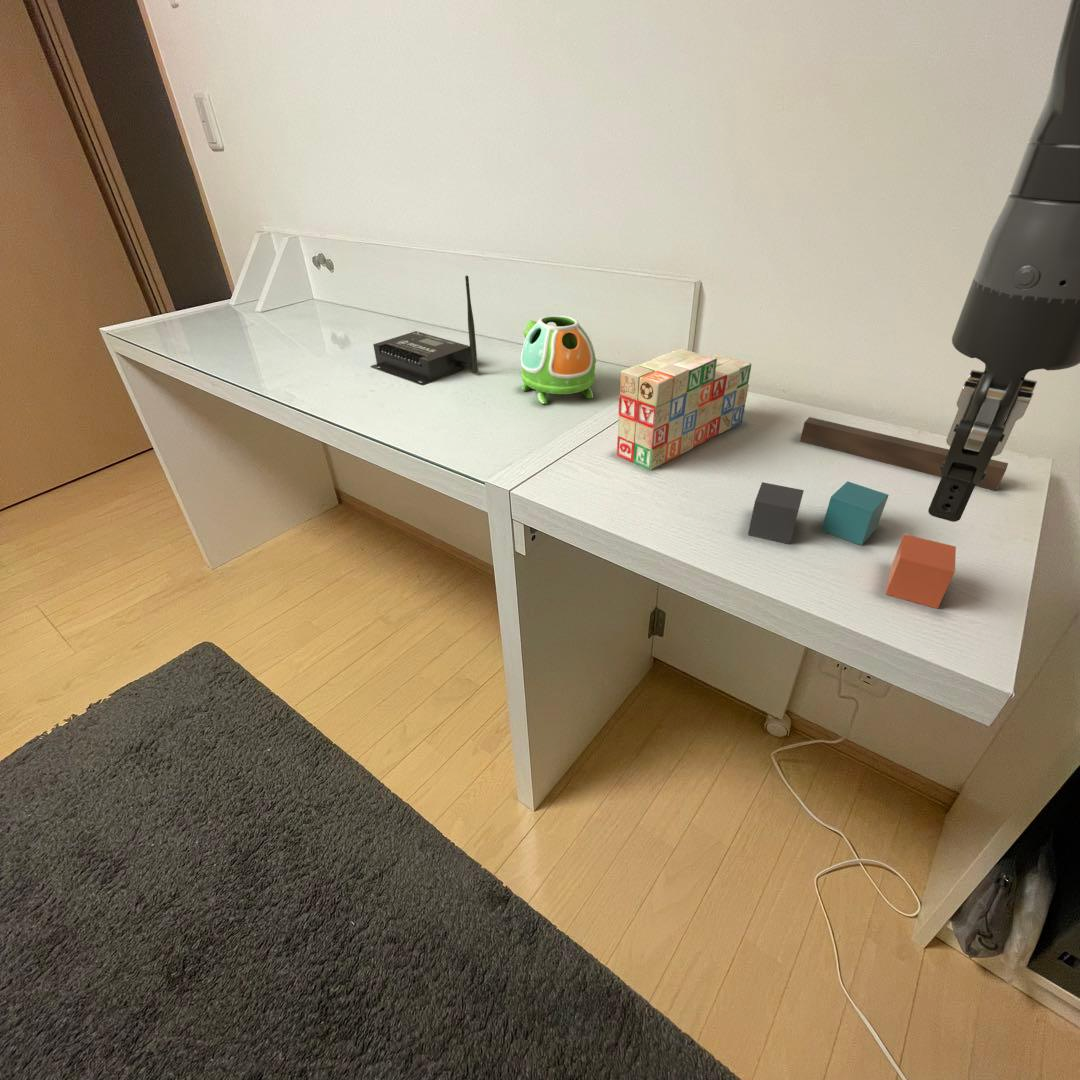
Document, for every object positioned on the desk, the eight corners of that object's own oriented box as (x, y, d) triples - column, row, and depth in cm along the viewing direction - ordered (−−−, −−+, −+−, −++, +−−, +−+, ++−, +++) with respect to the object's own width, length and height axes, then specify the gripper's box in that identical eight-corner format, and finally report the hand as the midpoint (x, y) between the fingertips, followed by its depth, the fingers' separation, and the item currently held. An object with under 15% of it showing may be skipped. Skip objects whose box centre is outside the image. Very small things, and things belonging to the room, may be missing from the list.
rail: (998, 484, 76) (1008, 463, 74) (996, 491, 75) (1006, 469, 73) (804, 436, 88) (809, 416, 87) (799, 441, 87) (804, 421, 85)
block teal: (876, 528, 69) (889, 494, 66) (861, 545, 66) (873, 511, 64) (837, 514, 72) (847, 480, 69) (820, 530, 69) (830, 496, 66)
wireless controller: (369, 366, 117) (351, 271, 107) (425, 347, 126) (413, 258, 116) (437, 390, 106) (424, 287, 96) (494, 368, 115) (487, 271, 105)
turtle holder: (563, 365, 115) (562, 299, 108) (609, 399, 101) (612, 326, 94) (501, 376, 111) (497, 308, 104) (540, 412, 98) (538, 337, 91)
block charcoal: (795, 523, 70) (803, 490, 68) (789, 544, 67) (798, 510, 64) (754, 515, 72) (762, 481, 69) (747, 535, 69) (754, 501, 66)
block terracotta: (939, 582, 61) (956, 546, 58) (937, 609, 58) (955, 571, 55) (889, 569, 63) (903, 533, 60) (885, 594, 60) (899, 557, 57)
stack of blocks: (708, 411, 96) (719, 332, 89) (742, 423, 92) (757, 342, 85) (615, 455, 85) (620, 369, 78) (650, 471, 81) (658, 382, 74)
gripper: (1120, 313, 32) (987, 572, 42) (1122, 265, 41) (1011, 490, 51) (957, 294, 36) (871, 535, 46) (990, 254, 44) (912, 465, 54)
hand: (945, 511), depth 48 cm, fingers closed
